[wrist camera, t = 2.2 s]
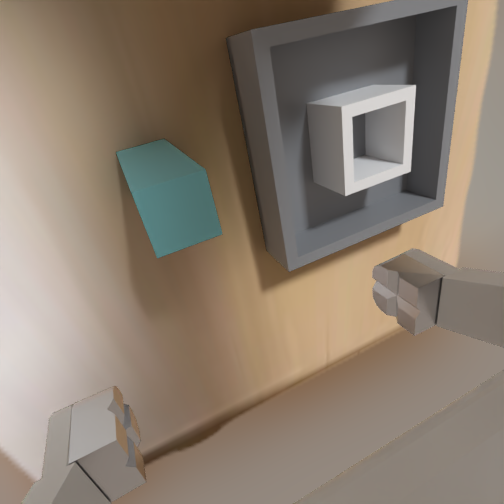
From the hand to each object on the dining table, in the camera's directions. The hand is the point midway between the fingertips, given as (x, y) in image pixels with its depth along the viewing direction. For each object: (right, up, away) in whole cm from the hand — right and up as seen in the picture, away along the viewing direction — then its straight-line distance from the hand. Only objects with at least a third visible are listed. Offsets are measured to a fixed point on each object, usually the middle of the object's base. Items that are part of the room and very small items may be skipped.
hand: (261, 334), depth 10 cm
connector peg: (-9, +9, +18) cm, 23 cm away
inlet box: (+8, +14, +24) cm, 30 cm away
